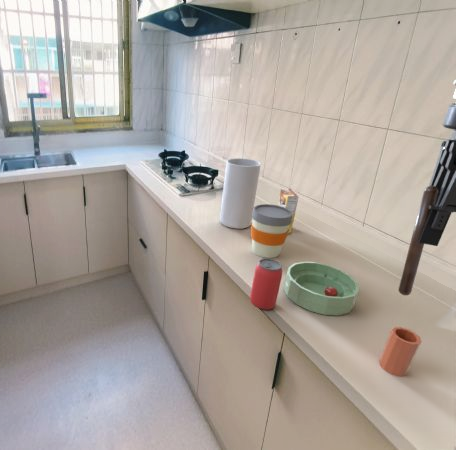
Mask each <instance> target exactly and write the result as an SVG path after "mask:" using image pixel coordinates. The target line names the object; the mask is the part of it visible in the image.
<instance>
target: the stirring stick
mask: <svg viewBox="0 0 456 450" xmlns="http://www.w3.org/2000/svg"><path fill="white" fill-rule="evenodd" d="M437 195H438V188H437V187H435V186H429V185H428V186H426V187H425V188H424V189H423V192H422V195H421V199H420V204H419V208H418V211H417V214H416V219H415V223H414V226H413V227H414V228H413V231H412V234H411V238H410V243H409V247H408V251H407V255H406V259H405V262H404V266H403V270H402V273H401V277H400V282H399V286H398V292H399V294H401V295H402V296H409V295H411V293H412V291H413V287H414V283H415V279H416V277H417V272H418V268H419V265H420V261H421V259H422V254H423V249H424V246H425V244H423V243H419V242H418V240H419V238H420V235H421V233H422V230H423V228H424V225H425V223H426V220H427V218H428V215H429V212H430V210H431V209H429V205H433V206H435V203H436V199H437Z"/></svg>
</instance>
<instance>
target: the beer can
mask: <svg viewBox="0 0 456 450" xmlns="http://www.w3.org/2000/svg"><path fill="white" fill-rule="evenodd" d="M282 267H283V265H282V264H281V262H279V261H278V260H276V259H274V258H265V257H264V258H261V259H259V260H258V263H257V264H256V266H255V268H254V274H253V281H252V285H251V290H250V296H249V301H250V303H251V305H253V306H254V307H255V308H258V309H260V310H264V311H265V310H266V311H267V310H271V309H274V308H275V307H276V305H277V300H278V296H279V292H280V291H279V290H280V287H281V282H282V277H283V268H282Z"/></svg>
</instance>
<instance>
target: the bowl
mask: <svg viewBox="0 0 456 450" xmlns="http://www.w3.org/2000/svg"><path fill="white" fill-rule="evenodd" d="M284 281H285V282H284V285H283V291H284V293H285V295H286V296H287V298H288V299H289V300H290V301H292V302H293V303H294V304H296V305H297V306H299V307H301V308H303V309H305V310H307V311H310V312H313V313H316V314H320V315H323V316H335V317H336V316H337V317H338V316H342V315H346V314H349V313H350V312H351V311H352V310H353V309H354V308H355V305H356V302H357V299H358V296H359V294H360V286H359V283H358V282H357V281H356V279H355V278H354V277H353V276H352V275H350V274H348V273H347V272H346V271H343V270H342V269H340V268H337V267H335V266H332V265H330V264H327V263H321V262H317V261H300V262H294V263H293V264H291V265H289V266H288V267H287V272H286V276H285V280H284ZM327 287H334V288H335V289H336V290H337V291H338V295H337V297H334V296H326V295H325V293H324V291H325V289H326V288H327Z"/></svg>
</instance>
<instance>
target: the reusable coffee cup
mask: <svg viewBox="0 0 456 450" xmlns="http://www.w3.org/2000/svg"><path fill="white" fill-rule="evenodd" d="M291 222H292V212H291V211H290V210H289V209H287V208H284V207H281V206H278V205H277V204H269V203H261V204H256V205H254V208H253V213H252V221H251V225H250V238H251V252H252V253H253V254H254V255H257V256H258V257H261V258H264V259H265V258H268V259H274V258H278V256H279V255H280V253H281V249H282V248H283V247H282V246H283V245H284V244H285V242H286V240H287V237H288V234H289V233H288V232H289V225H290V224H291Z"/></svg>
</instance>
